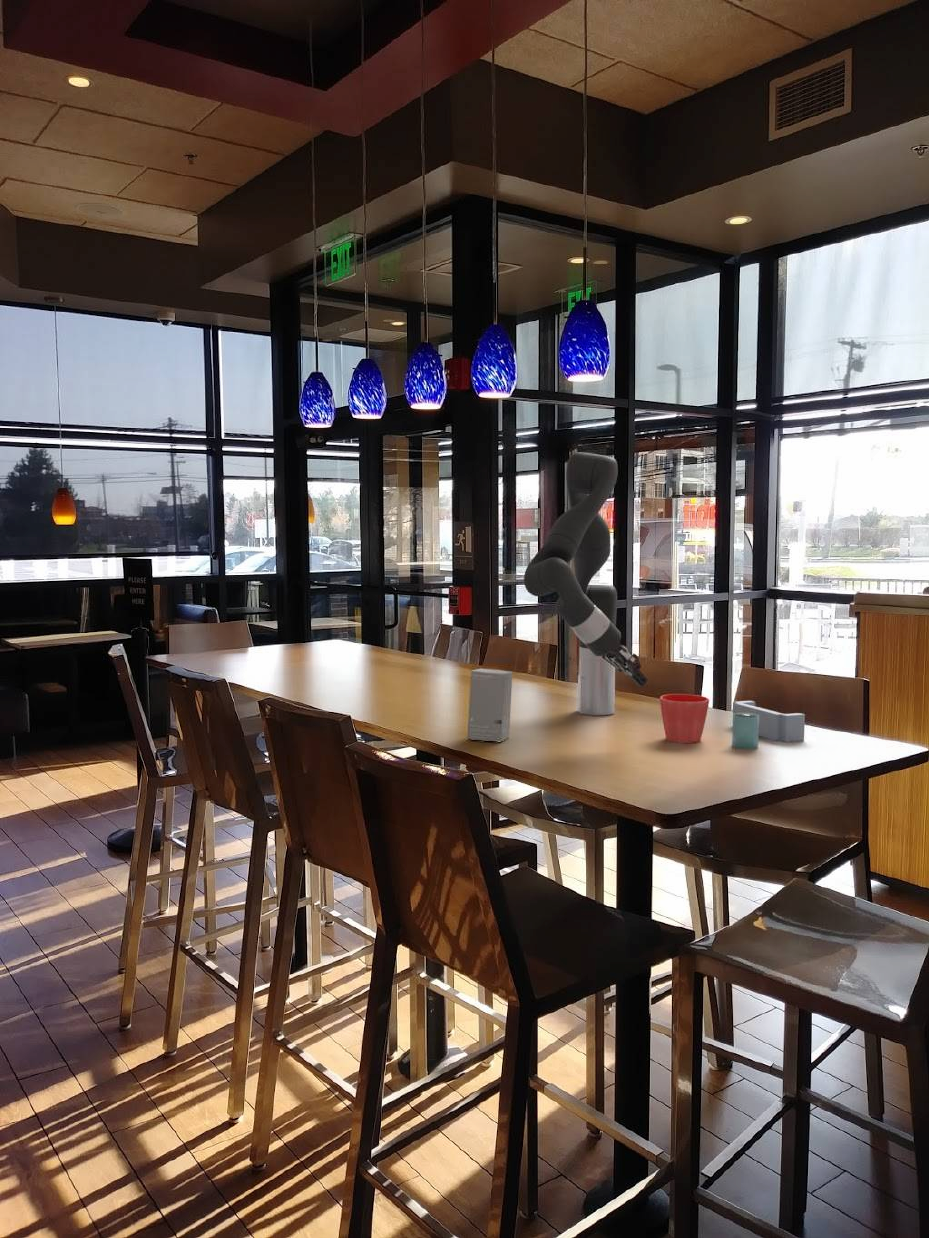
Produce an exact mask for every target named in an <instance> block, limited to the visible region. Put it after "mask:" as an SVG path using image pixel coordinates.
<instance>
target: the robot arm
mask: <svg viewBox="0 0 929 1238" xmlns="http://www.w3.org/2000/svg"><path fill="white" fill-rule="evenodd" d="M618 466H619V465H618V462H617V460H616V459H615V458H614V457H611V456H607V455H602V454H596V453H590V452H584V451H582V452H581V451H579V452H577V451H576V452H574V453H572V454H571V455H570V456H569V458H568V460H567V463H566V469H565V470H566V471H565V472H566V473H565V474H566V476H565V477H566V478H565V479H566V488H567V489H566V490H567V494H568V500H569V507H570V508H569V509H568V510H566V511H565V512H564V513H562V514H561V515H560V516H559V517H558V518H557V519H556V521H555V522H554V523H553V525H552V527H551V528H550V530H549V533H548V535H547V538H546V540H545V542H544V544H543V545H542V547H541V548H540V549H539V550H538V552H537V553H535V555H534V557H533V558H532V560H531V561H530V562H529V564H528V565H527V567H526V569H525V572H524V574H523V585H524V587H525V589H526V591H527V592H528V594H530V595H532V596H535V597H545V596H547V595H551V594H554V593H555V592H556V593H557V594H558V599H557V600H556V602H555V605H554V606H555V607H554V608H555V610H556V612H557V614H558V615H559V616H560V618H562V619H563V620H564V621H565V623H566V624H567V625H568V626H569V627H570V629H572V631H573V633H574V634H575V636H576V637H578V639H579V662H578V663H579V665H578V666H579V668H578V669H579V670H578V671H579V672H578V675H577V712H578V713H579V714H580V715H587V714H588V715H587V716H589V715H590V716H608V715H609V716H610V715H614V713H615V706H616V705H615V693H616V691H615V689H616V670H617V671H618V672H620V673H624V675H627V676H629V678H630V679H631V680H632V681H633V682H634V683H635V685H637V686H638V687H644V685H646V683H647V682H648V679H647V677H646V675H644V673H642V671H641V668H642V665H641V663H640V660H639V656H638V655H637V654H636V653H633V654H631V653H630V652H629V649H628V648H627V647H626V646H625V645H624V644H621V643H620V642H621V638H622V633H621V631H620V630H619V629H618V628H617V627H616V626H617V625H616V624H617V623H616V622H617V613H618V612H617V610H618V608H617V607H618V592H617V591H618V590H617V589H616V587H615V586H613V585H603V584H602V585H601V584H599V585H598V584H596V585H595V584H590V582H591V581H592V579H593V578H594V576H595V575H596V574H597V573H598V572H599V571H600V570H601V569H602V568H603V566H604V565H605V564H606V563H607V561H608V559H609V557H610V556H611V530H610V528H609V525H608V523H607V522H606V520H605V519H604V518H603V516H602V514H601V513H600V511H601V509H602V507H604V504H605V503H606V502H607V500H608V499H609V497H610V496H611V494H612V492H613V490H614V488H615V485H616V483H617V480H618V479H617V478H618V472H619V470H618V469H619V468H618ZM571 561H573V565H574V571H573V568H571V566H570V565H569V563H570V562H571Z"/></svg>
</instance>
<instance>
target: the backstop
mask: <svg viewBox="0 0 929 1238" xmlns="http://www.w3.org/2000/svg"><path fill="white" fill-rule="evenodd" d="M735 713H754V714H757V715H759V736H760V737H762V738H766V739H769V740H773V741H776V742H777V741H781V742H784V743H792V742H791V741H794V742H804V741H805V724H806V722H805V721H806V720H805V718H806V714H804V713H800V712H795V713H781V712H779V711H776V710H775V711H774V710H770V709H767V708H764V707H763V708H762V707H760V706H759V707H758V706H756V701H753V700H740V701H738V700H737V701H733V702H732V715H733V714H735Z"/></svg>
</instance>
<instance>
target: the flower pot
mask: <svg viewBox="0 0 929 1238" xmlns="http://www.w3.org/2000/svg"><path fill="white" fill-rule="evenodd" d="M659 704H660V710H661V711H660V712H661V717H662V724H663V729H664V734H665V738H666V740H667V741H669V742H672V741H673V743H677V742H678V743H679V744H693V743H699V742H701V740H702V736H703V733H704V728H705V724H706V719H707V716H708V715H707V714H708V709H709V705H710V698H708V697H706V696H704V695H697V694H688V693H687V694H686V693H670V694H669V693H667V694H664V695H661V696H660V697H659ZM678 743H677V744H678Z"/></svg>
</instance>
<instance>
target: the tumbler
mask: <svg viewBox="0 0 929 1238" xmlns="http://www.w3.org/2000/svg"><path fill="white" fill-rule="evenodd" d="M731 747H732V748H734V749H740V750H755V749H756V750H757V749H758V748H759V715H757V714H754V713H735V714H733V713H732V731H731Z"/></svg>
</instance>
